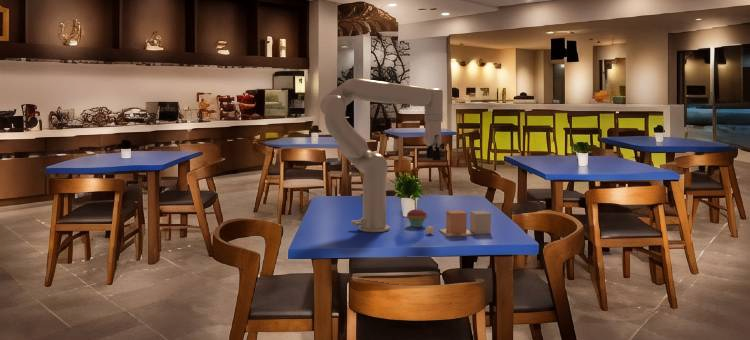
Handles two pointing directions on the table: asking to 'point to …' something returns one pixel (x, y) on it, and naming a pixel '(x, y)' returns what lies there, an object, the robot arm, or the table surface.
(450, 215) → the peach colored cube
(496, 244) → the table surface
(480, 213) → the beige block
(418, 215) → the cupcake
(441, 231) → the birch board
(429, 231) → the cream marble
